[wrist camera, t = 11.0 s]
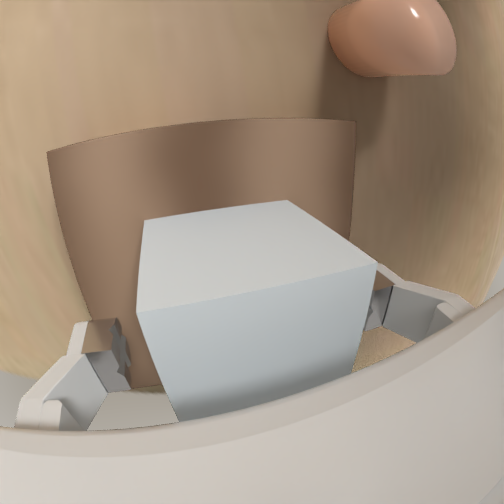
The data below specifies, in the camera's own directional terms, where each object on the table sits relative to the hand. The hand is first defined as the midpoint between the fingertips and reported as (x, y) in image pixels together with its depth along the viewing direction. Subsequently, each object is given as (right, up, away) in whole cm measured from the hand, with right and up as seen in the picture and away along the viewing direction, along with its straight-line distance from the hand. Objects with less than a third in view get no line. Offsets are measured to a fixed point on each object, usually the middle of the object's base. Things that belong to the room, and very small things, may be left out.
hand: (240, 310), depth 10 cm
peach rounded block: (+6, +14, +2) cm, 15 cm away
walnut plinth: (-2, +2, +5) cm, 6 cm away
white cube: (-1, +1, +2) cm, 3 cm away
